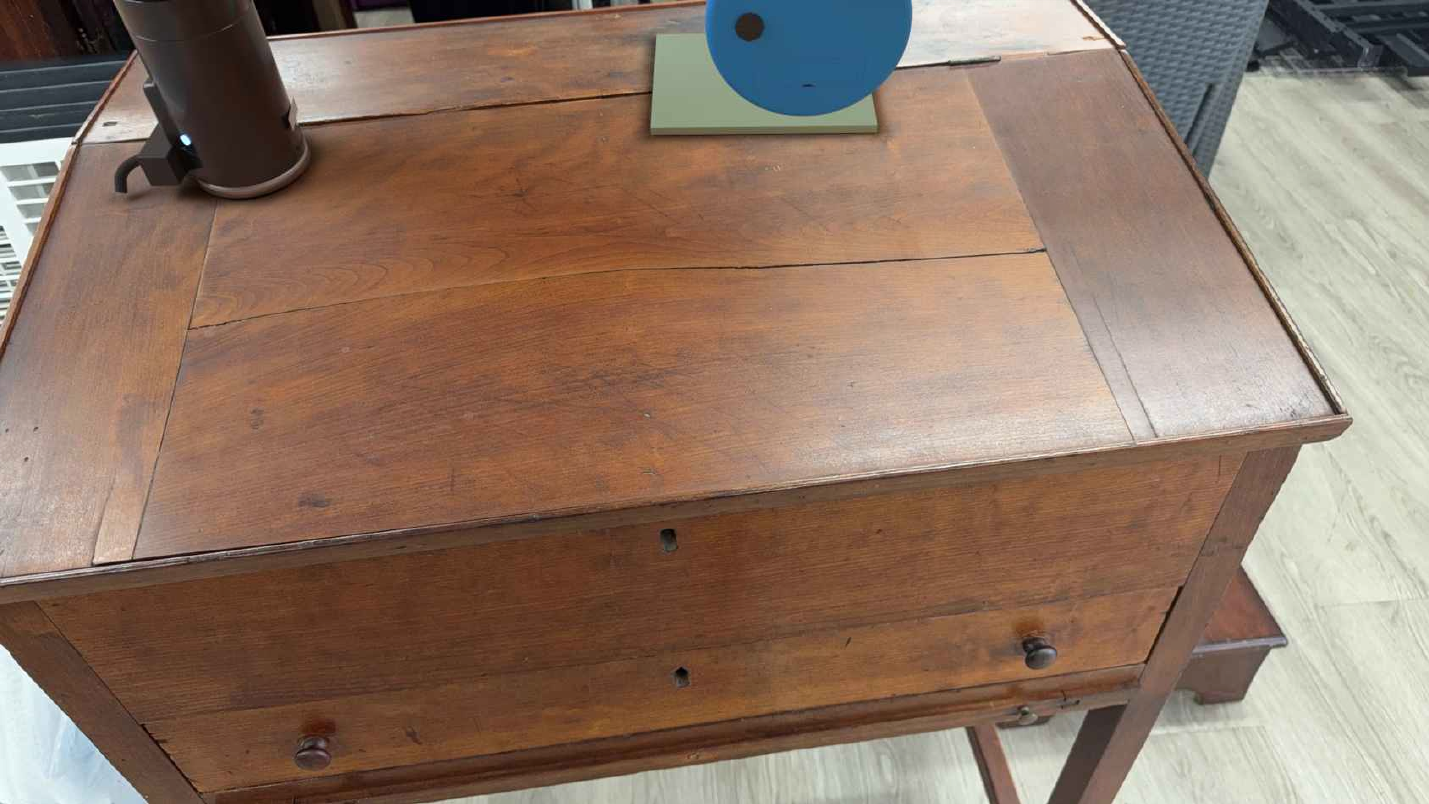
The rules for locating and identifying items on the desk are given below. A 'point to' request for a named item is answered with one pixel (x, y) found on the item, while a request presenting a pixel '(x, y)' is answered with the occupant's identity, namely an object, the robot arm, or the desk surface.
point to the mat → (727, 99)
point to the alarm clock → (806, 50)
